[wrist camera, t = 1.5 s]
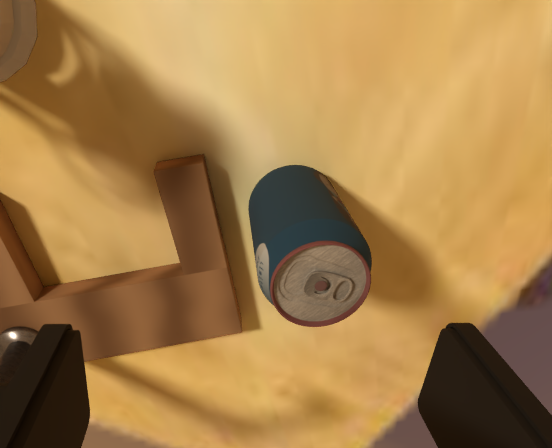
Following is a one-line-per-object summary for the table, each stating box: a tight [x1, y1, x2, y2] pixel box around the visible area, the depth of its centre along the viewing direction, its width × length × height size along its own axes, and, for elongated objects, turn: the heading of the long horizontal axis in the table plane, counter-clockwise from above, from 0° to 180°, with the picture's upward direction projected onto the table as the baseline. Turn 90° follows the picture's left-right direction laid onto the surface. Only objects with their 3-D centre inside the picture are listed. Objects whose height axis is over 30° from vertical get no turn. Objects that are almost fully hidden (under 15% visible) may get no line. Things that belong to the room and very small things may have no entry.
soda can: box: [249, 165, 372, 327], centre depth 29 cm, size 7×7×12 cm
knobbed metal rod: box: [0, 326, 39, 383], centre depth 27 cm, size 13×4×18 cm, turn 98°
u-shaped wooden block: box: [0, 154, 242, 362], centre depth 34 cm, size 22×16×2 cm
